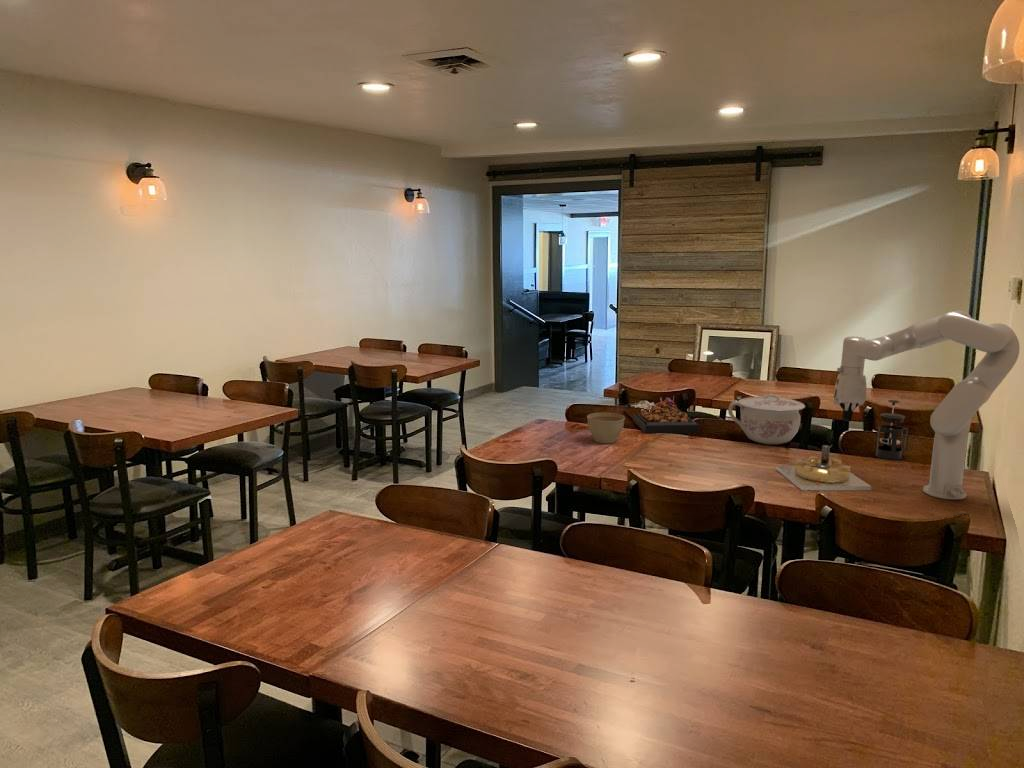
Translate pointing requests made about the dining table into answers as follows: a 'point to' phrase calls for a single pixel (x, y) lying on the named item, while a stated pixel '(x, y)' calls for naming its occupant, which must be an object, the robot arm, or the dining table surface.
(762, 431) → the chamber pot
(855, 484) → the base plate
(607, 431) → the planter bowl
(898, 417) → the french press
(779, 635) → the dining table surface
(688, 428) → the food platter
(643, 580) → the dining table surface
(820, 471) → the gold disc with post
